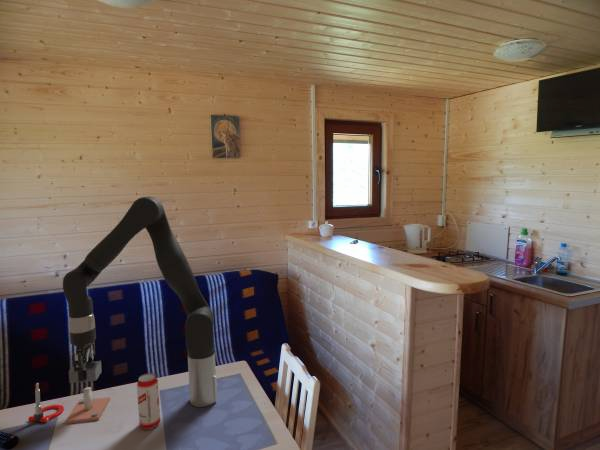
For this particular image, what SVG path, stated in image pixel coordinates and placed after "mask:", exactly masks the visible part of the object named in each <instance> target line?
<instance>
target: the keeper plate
mask: <svg viewBox="0 0 600 450" xmlns="http://www.w3.org/2000/svg"><path fill="white" fill-rule="evenodd" d="M82 393H83V399H80V400H78V401H77V403H76V404H75V406H74V408H72V411H71V412H70V413H69V415H68V417H67V418H66V420H65V425H69V424H76V423H86V422H92V421H94V422H95V421H99V420H100V419H101V417H102V416H103V413H104V411H105V410H106V408H107V406H108V404H109V403H110V400H111V397H110V396H107V397H99V398H93V397H92V396H93V394H92V387H91V386H89V387H85V388H83V390H82Z"/></svg>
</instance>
